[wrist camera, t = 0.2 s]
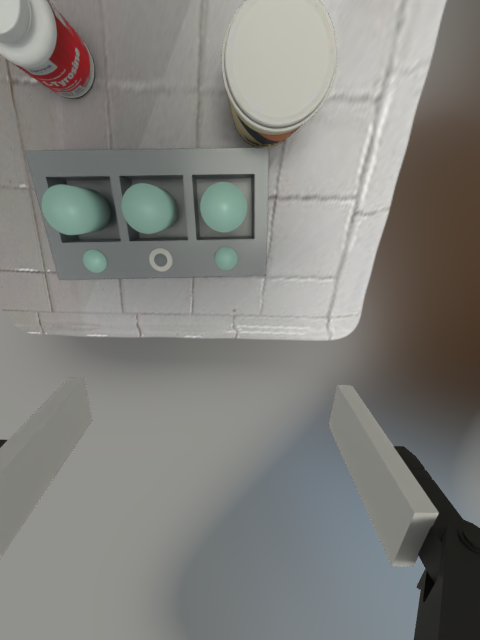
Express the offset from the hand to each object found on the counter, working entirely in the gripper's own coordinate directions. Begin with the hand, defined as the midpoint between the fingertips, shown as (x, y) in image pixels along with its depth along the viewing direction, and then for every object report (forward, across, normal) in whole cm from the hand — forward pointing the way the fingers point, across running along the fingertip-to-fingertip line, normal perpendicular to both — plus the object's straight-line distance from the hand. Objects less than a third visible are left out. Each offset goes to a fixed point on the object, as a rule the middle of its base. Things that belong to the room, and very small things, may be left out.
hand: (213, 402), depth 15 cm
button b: (+24, -8, +9) cm, 27 cm away
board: (+27, -8, +8) cm, 30 cm away
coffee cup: (+28, +4, +21) cm, 35 cm away
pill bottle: (+28, -18, +24) cm, 41 cm away
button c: (+24, 0, +10) cm, 26 cm away
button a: (+24, -16, +9) cm, 30 cm away
